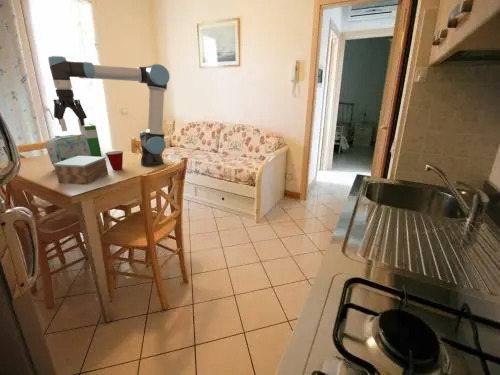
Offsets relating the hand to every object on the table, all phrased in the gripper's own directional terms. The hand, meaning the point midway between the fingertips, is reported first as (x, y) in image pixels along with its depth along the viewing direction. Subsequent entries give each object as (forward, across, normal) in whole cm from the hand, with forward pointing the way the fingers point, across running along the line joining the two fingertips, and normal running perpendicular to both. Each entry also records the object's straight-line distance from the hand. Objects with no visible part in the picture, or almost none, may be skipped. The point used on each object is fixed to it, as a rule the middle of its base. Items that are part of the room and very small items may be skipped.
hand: (73, 131), depth 144 cm
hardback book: (+28, -36, +54) cm, 71 cm away
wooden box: (+28, 0, 0) cm, 28 cm away
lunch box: (+28, -29, +25) cm, 48 cm away
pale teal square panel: (+18, 0, 0) cm, 18 cm away
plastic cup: (+28, +7, +21) cm, 36 cm away
